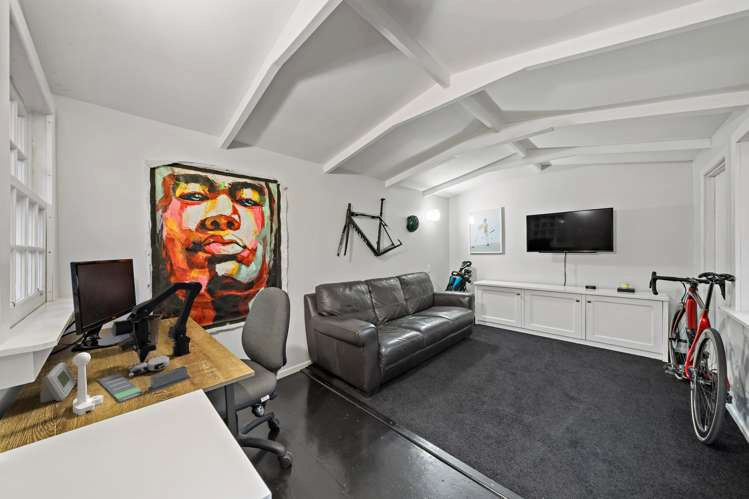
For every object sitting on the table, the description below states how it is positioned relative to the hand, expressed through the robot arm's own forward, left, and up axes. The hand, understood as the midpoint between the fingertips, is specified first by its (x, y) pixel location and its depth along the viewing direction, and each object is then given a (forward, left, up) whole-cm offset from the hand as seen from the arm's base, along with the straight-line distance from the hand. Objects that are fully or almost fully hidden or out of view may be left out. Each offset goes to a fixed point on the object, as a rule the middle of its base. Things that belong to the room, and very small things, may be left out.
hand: (142, 362), depth 133 cm
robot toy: (0, +10, -2) cm, 10 cm away
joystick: (+23, +27, -2) cm, 35 cm away
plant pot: (-11, -33, -2) cm, 35 cm away
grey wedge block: (0, +32, -1) cm, 32 cm away
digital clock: (+27, +6, -2) cm, 28 cm away
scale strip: (+13, +18, -1) cm, 22 cm away
